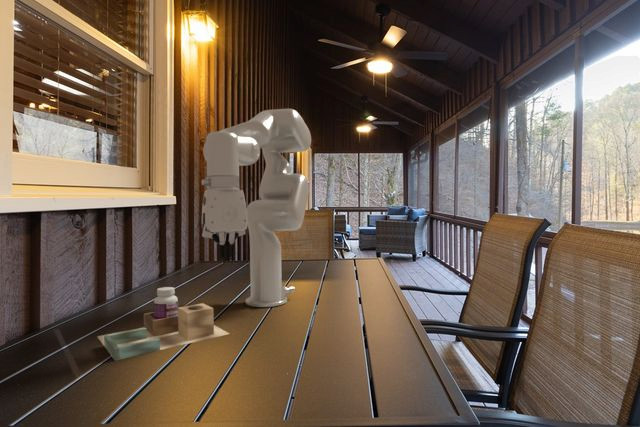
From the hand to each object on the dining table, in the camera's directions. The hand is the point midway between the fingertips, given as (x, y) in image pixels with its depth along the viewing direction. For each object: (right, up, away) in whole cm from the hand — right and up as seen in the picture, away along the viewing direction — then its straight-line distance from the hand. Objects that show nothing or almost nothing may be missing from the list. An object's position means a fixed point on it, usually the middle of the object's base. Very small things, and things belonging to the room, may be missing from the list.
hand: (225, 260), depth 97 cm
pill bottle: (-14, -17, 0) cm, 22 cm away
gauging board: (-13, -17, -5) cm, 22 cm away
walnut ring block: (-14, -16, -1) cm, 22 cm away
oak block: (-6, -16, -5) cm, 18 cm away
